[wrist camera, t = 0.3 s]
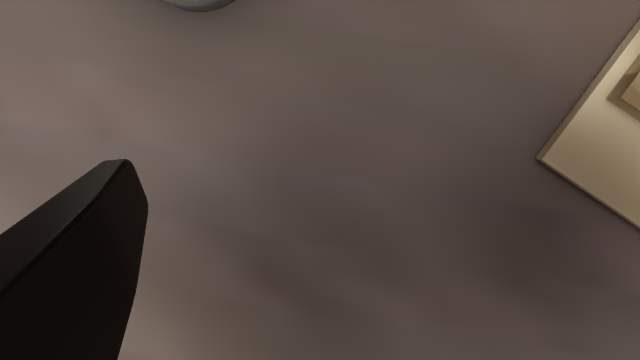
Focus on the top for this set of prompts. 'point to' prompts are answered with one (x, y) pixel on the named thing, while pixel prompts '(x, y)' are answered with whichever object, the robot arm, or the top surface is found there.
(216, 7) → the sleeve
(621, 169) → the bay board
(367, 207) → the top surface
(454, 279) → the top surface
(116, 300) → the robot arm
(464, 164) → the top surface
